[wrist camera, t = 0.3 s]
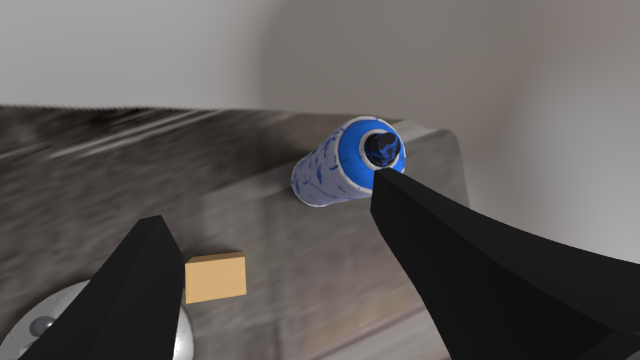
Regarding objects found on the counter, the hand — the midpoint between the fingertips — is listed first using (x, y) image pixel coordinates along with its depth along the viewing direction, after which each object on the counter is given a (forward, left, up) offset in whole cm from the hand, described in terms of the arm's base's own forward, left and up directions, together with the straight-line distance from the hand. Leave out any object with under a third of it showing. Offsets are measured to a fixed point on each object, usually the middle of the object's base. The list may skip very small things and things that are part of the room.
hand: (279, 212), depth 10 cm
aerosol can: (+5, -11, -29) cm, 32 cm away
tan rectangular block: (-6, +3, -29) cm, 30 cm away
